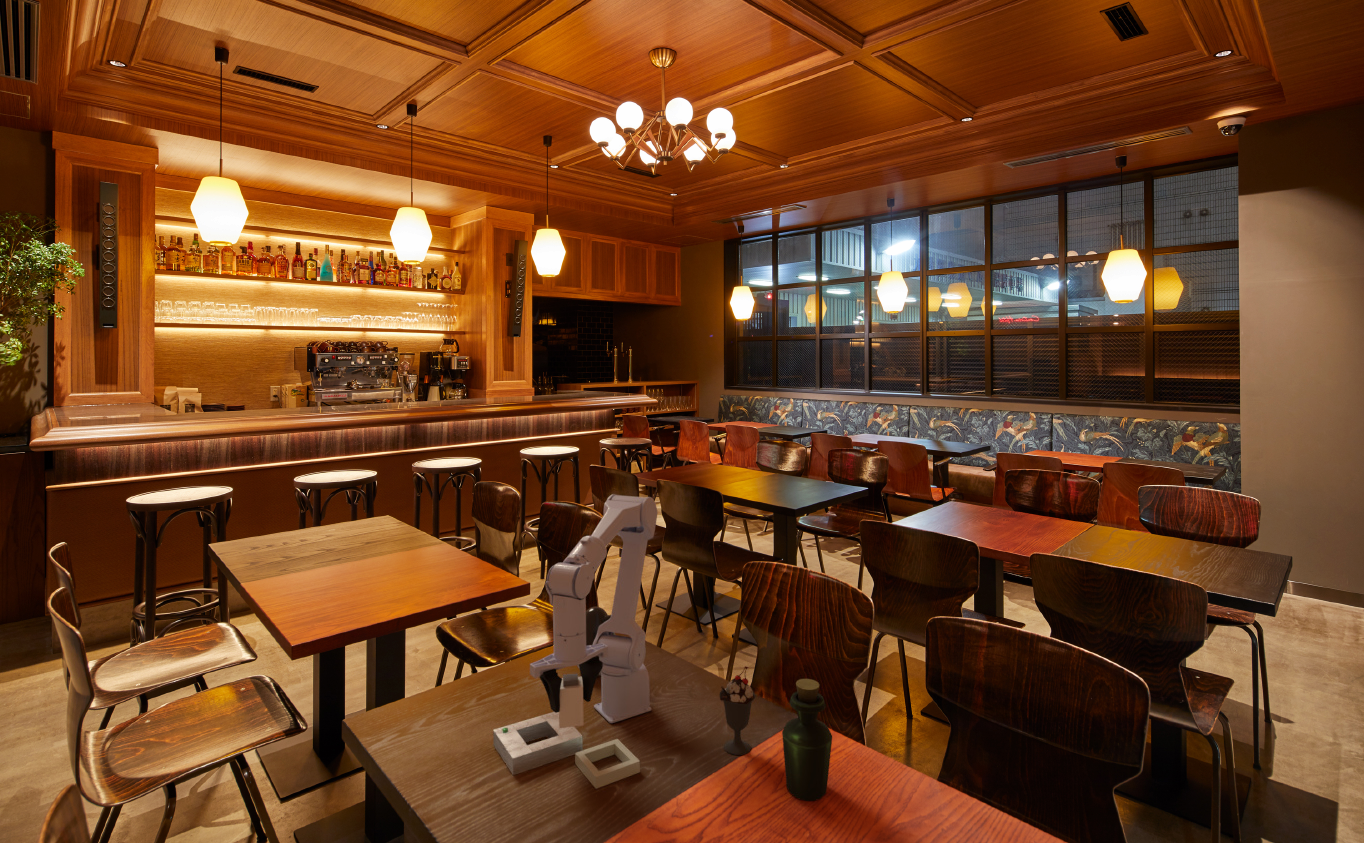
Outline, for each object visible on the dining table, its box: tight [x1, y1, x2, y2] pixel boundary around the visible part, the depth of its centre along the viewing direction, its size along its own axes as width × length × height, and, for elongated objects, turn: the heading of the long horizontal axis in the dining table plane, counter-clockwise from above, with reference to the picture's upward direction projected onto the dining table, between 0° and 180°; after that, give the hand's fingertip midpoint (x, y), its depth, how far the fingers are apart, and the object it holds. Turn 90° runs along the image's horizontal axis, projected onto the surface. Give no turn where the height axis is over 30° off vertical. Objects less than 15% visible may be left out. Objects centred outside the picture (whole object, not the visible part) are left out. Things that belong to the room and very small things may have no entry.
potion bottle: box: [782, 678, 833, 802], centre depth 108 cm, size 8×8×18 cm
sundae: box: [719, 665, 757, 756], centre depth 121 cm, size 7×7×15 cm
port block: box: [492, 711, 584, 776], centre depth 121 cm, size 13×11×3 cm
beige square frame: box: [574, 738, 641, 790], centre depth 115 cm, size 8×8×2 cm
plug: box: [559, 673, 584, 728], centre depth 117 cm, size 4×4×8 cm
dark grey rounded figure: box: [576, 606, 616, 677], centre depth 152 cm, size 10×10×15 cm
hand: (570, 704), depth 117 cm, fingers closed on plug, 6 cm apart
